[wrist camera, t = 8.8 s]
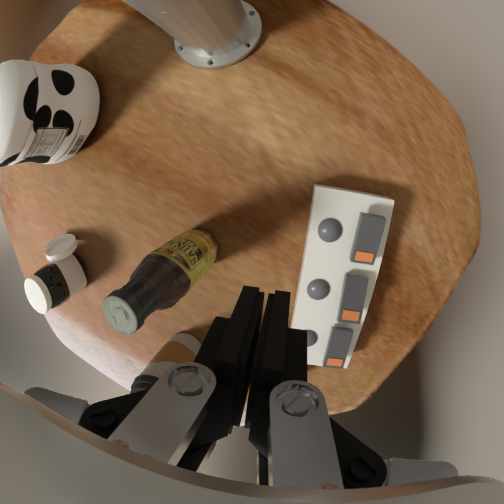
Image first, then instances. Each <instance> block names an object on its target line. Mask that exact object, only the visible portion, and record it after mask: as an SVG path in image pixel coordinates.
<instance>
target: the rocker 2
mask: <svg viewBox="0 0 504 504" xmlns="http://www.w3.org/2000/svg"><path fill="white" fill-rule="evenodd" d="M385 224H386V219H385V217H384V216H380V215H375V214H370V213H364V212H360V216H359V220H358V224H357V229H356V233H355V237H354V241H353V245H352V249H351V253H350V256H349V257H350V262H355V263H361V264H368V265H374V262H375V259H376V255H377V252H378V249H379V245H380V242H381V238H382V235H383V231H384V228H385Z"/></svg>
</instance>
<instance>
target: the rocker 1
mask: <svg viewBox="0 0 504 504" xmlns="http://www.w3.org/2000/svg"><path fill="white" fill-rule="evenodd" d="M353 333H354V332H353V329H351V328H342V327H333V326H332V328H331V332H330V336H329V340H328V344H327V348H326V351H325V355H324V359H323V362H322V363H323V367H331V368H341V369H343V367H344V364H345V360H346V357H347V354H348V351H349V347H350V344H351V340H352V337H353Z"/></svg>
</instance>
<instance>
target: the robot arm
mask: <svg viewBox="0 0 504 504" xmlns="http://www.w3.org/2000/svg"><path fill="white" fill-rule="evenodd" d="M122 1H124V2H125V3H127V4H129V5H130V6H131V7H133V8H134V9H136V10H137V11H139V12H140V13H142V14H143V15H144V16H146V17H147V18H148V19H150V20H151V21H153V22H154V23H155V24H157V25H158V26H159V27H161V28H162V29H163V30H165V31H166V32H167V33H168V34H170V35H171V36H172V37H173V38H174V46H175V49H176V51H177V53H178V54H179V56H180V57H181V58H182V59H183V60H185V61H186V62H187V63H189V64H190V65H193V66H195V67H198V68H203V69H217V68H223V67H227V66H230V65H232V64H235V63H237V62H239V61H240V60H242V59H243V58H245V57H246V56H248V55H249V54H250V53H251V52H252V51H253V50H254V48H255V47H256V46H257V44H258V42H259V40H260V38H261V34H262V22H261V18H260V16H259V14H258V12H257V11H256V10H255V8H254V7H253V6H251V5H250V4H249V3H247V2H245V1H243V0H122ZM249 45H250V47H247V46H249ZM211 63H213V64H212V65H211ZM263 301H264V292H259V288H258V287H251V286H244V287H243V289H242V291H241V294H240V296H239V299H238V301H237V304H236V306H235V308H234V311H233V313H232V316H231V318H230V319H229V318H223V317H218V316H217V317H215V319H214V321H213V323H212V325H211V327H210V329H209V331H208V333H207V335H206V337H205V339H204V341H203V343H202V345H201V347H200V349H199V351H198V353H197V355H196V357H195V359H194V361H193V362H183V363H178V364H175V365H173V366H171V367H170V368H169V369H167V370H166V371H165V372H164V373H163V375H162V376H161V377H160V378H159V379H158V381H157V382H156V383H155V384H154V385H153V386H152V388H149V389H145V390H142V391H138V392H135V393H131V394H127V395H124V396H120V397H116V398H112V399H108V400H104V401H100V402H97V403H94V404H92V405H90V404H88V402H87V401H86V400H82V399H78V398H74V397H71V396H67V395H63V394H60V393H57V392H54V391H50V390H47V389H44V388H41V387H33V388H30V389H28V390H26V391H25V392H24V393H23V392H21V391H19V390H17V389H16V388H13V387H11V386H9V385H6V384H3V383H0V504H504V483H503V482H501V481H500V480H497V479H494V478H490V477H483V476H470V475H467V476H459V475H458V471H457V469H456V468H455V466H453V465H452V464H451V463H449V462H444V461H421V460H408V459H398V458H391V459H390V460H383V459H382V458H381V457H380V456H379V455H378V454H377V453H376V452H374V451H373V450H372V449H370V448H369V447H368V446H366V445H365V444H363V443H362V442H361V441H360V440H358V439H357V438H356V437H354V436H353V435H352V434H350V433H349V432H348V431H347V430H345V429H344V428H343V427H341V426H340V425H339V424H338V423H337V422H335V421H334V420H333V419H332V418H330V417H329V415H328V410H327V406H326V401H325V398H324V396H323V394H322V392H321V391H320V390H319V389H318V388H317V387H315V386H314V385H312V384H310V383H307V330H302V329H294V328H288V317H289V305H290V292H286V291H278V290H276V291H275V294H271V293H269V296H268V300H267V304H266V309H265V313H264V318H263V322H262V326H261V318H262V309H263ZM260 326H261V331H260ZM259 334H260V335H259ZM249 385H250V387H249ZM248 389H249V395H248V403H247V411H246V419H245V426H244V427H245V428H249V429H250V433H249V441H250V442H251V443H252V444H253V445H254V446H255V447H256V448H257V450H258V451H257V484H251V483H245V482H239V481H233V480H228V479H223V478H219V477H214V476H209V475H205V474H202V473H201V471H202V469H203V467H204V466H205V464H206V462H207V460H208V458H209V456H210V454H211V453H212V451H213V449H214V447H215V445H216V442H217V440H219V439H221V438H223V437H225V436H227V435H228V434H231V432H232V428H233V426H238V427H239V426H240V422H241V418H242V414H243V410H244V406H245V402H246V398H247V394H248Z"/></svg>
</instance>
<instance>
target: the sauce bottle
mask: <svg viewBox="0 0 504 504" xmlns="http://www.w3.org/2000/svg"><path fill="white" fill-rule="evenodd" d="M217 256H218V245H217V243H216V240H215V239H214V238H213V237H212V236H211V235H210V234H209V233H208V232H207V231H204V230H202V229H201V230H200V229H194V230H188V231H186V232H184V233H182V234H180V235H179V236H177V237H175V238H174V239H172V240H171V241H169V242H167V243H166V244H164V245H162V246H161V247H159V248H158V249H156V250H155V251H153V252H151V253H150V254H148V255H147V256H146V257H145V258H144V259H143V260H142V262H141V263H140V264H139V266H138V267H137V268H136V269H135V271H134V272H133V273H132V275H131V277H130V281H129V282H128V283H127V284H126V285H125V286H123V287H122V288H121V289H118V290H115V291H113V292H112V293H111V294H109V295H108V296H107V297H106V298H105V300H104V302H103V312H104V315H105V317H106V319H107V321H108V322H109V324H110V325H111V326H112V327H113V328H114V329H116V330H117V331H119V332H121V333H123V334H132V333H134V332H136V331H137V330H138V329H139V328H140V327H141V326H142V325H143V324H144V320H145V319H146V318H147V317H148V316H149V315H150V314H151V313H153V312H154V311H155V310H164V309H167V308H170V307H172V306H174V305H175V304H176V303H177V302H178V301H179V300H180V298H182V297H183V296H185V295H186V294H187V293H188V291H189V290H190V289H191V288H192V287H193V286H194V285H195V284H196V283H197V282H198V280H199V279H200V278H201V277H202V276H203V275H204V274H205V273H206V272H207V271H208V270H209V269H210V268H211V266H212V265H213V264H214V262H215V260H216V258H217Z"/></svg>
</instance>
